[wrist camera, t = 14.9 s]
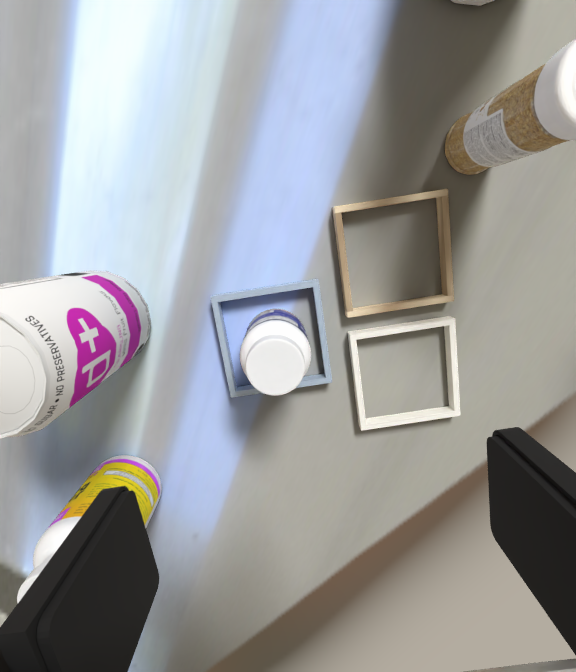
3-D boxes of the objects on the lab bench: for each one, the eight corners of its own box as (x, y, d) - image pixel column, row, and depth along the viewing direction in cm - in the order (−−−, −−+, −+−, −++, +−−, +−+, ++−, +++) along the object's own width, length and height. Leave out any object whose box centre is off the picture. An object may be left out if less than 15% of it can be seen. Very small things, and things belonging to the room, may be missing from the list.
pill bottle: (302, 368, 35) (310, 409, 27) (244, 363, 35) (232, 403, 26) (309, 309, 34) (318, 333, 25) (248, 304, 34) (237, 326, 25)
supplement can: (159, 281, 33) (65, 312, 19) (145, 372, 35) (50, 465, 20) (61, 259, 33) (-114, 274, 18) (53, 353, 34) (-113, 435, 20)
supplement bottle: (106, 441, 37) (16, 545, 24) (173, 466, 37) (120, 580, 25) (84, 499, 38) (-12, 626, 25) (149, 523, 39) (88, 657, 26)
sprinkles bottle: (487, 103, 31) (643, 0, 18) (506, 160, 32) (668, 102, 18) (433, 131, 31) (546, 51, 18) (453, 186, 32) (574, 148, 19)
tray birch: (441, 190, 32) (447, 188, 31) (448, 299, 34) (454, 301, 33) (332, 208, 32) (334, 206, 31) (345, 315, 34) (347, 317, 33)
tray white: (449, 315, 34) (454, 318, 33) (454, 410, 37) (460, 415, 35) (347, 331, 35) (349, 334, 33) (358, 424, 37) (361, 430, 36)
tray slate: (317, 278, 33) (318, 280, 32) (330, 377, 36) (332, 382, 34) (212, 295, 34) (210, 297, 32) (232, 392, 36) (230, 397, 35)
